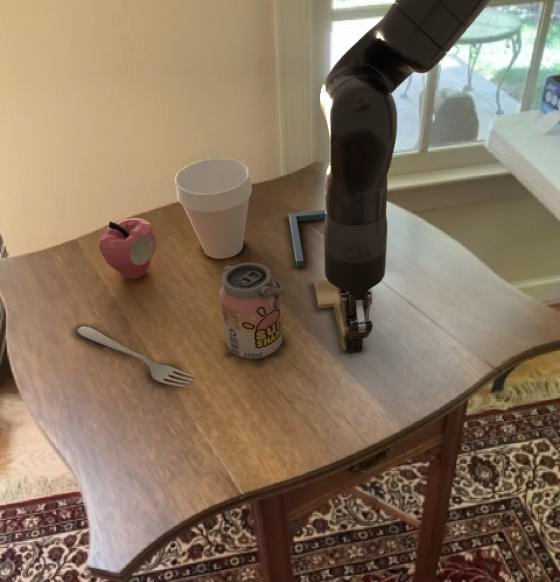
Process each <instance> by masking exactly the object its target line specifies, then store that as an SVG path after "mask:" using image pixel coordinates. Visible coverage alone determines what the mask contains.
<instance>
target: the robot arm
mask: <svg viewBox="0 0 560 582" xmlns="http://www.w3.org/2000/svg"><path fill="white" fill-rule="evenodd" d="M491 2H492V0H394V2H392V4H391V5H390V7H389V8H388V10H387V12H386V13H385V14H384V15H383V17H382V19H381V20H379V21H378V22H377V23H376V24H375V25H373V26H372V27H371V28H370V29H368V30H367V32H365V33H364V34H363V35H362V36H361V37H360V38H359V39H358V40H357V41H356V42H355V43H354V44H353V45H352V46H351V47H349V49H348V50H346V51H345V53H344V54H343V55H342V56H341V57H340V58H339V59H338V60H337V62H335V64H334V66H333V67H332V68H331V69H330V71H329V73H328V74H327V76H326V78H325V80H324V82H323V84H322V87H321V90H320V98H319V100H320V101H319V102H320V109H321V111H322V115H323V117H324V119H325V122H326V125H327V128H328V136H329V162H330V163H329V164H328V167H327V169H326V173H325V180H324V181H325V184H324V190H325V197H324V198H325V210H326V215H325V219H324V224H323V245H324V246H323V253H324V274H325V278H326V280H328V281H329V282H330V283H331V284H332V285H334V286H335V287H337V289H338V293H339V297H340V310H341V313H342V318H343V324H344V327H345V347H346V350H345V351H346V353H347V354H358V353H361V352H363V344H364V343H363V342H364V340H363V339H367V338H368V337H369V336H370V334H371V333H372V330H373V326H374V324H373V322H372V320H370V313H371V312H370V310H371V309H370V308H371V306H372V304H373V293H372V292H373V291H372V290H371V289H373V288H374V287H376V286H378V285H379V284H380V283H381V282H382V281H383V279H384V277H385V274H386V263H387V246H388V245H387V244H388V217H387V205H388V173H389V171H390V168H391V164H392V161H393V160H392V159H393V155H394V151H395V146H396V141H397V133H398V110H397V104H396V100H395V98H394V96H393V93H394V91H395V90H397V89H398V88H399V86H401V85H402V84H403V83H404V82H405V81H406V80H407V79H408V78H409V77H410V76H411V75H412V74H413V73H416V74H426V73H429V72H430V71H432V70H433V69H434V68H435V67H436V66H437V65H438V64H439V63H440V62H441V61H443V59H444V58H445V57H446V55H447V54H448V53H449V52H450V51H451V49H452V48H453V47H455V45H456V43H458V42H459V40H460V39H461V38H462V36H463V35H464V34H465V33H466V32H467V30H468V29H469V28H470V27H471V26H472V25H473V23H474V22H475V21H476V20H477V18H478V17H479V16H480V15H481V13H482V12H483V11H484V10H485V9H486V8H487V7H488V5H489V4H490V3H491Z"/></svg>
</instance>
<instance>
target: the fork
mask: <svg viewBox="0 0 560 582" xmlns="http://www.w3.org/2000/svg"><path fill="white" fill-rule="evenodd" d="M77 332H78V334H79V335H80V336H82V337H84V338H86V339H88V340H90V341H93V342H95V343H97V344H100V345H103V346H106V347H108V348H110V349H114V350H116V351H119V352H121V353H123V354H127V355H129V356H132V357H135V358H137V359H139V360H141V361H142V362H143V363H144V364H146V365H147V367H148V369H149V372H150V375H151V377H152V378H153V380H155V381H156V382H158V383H162V384H164V385H170V386H175V387H179V388H180V387H181V388H187V387H188V386H187V385H191V382H195V381H196V380H195V379H198V378H199V376H197V375H194V374H190V373H187V372H184V371H182V370H179V369H177V368H175V367H174V366H173V367H172V366H170V365H166V364H161V363H157V362H154V361H152V360H150V359H149V358H147V357H146V356H144V355H143V354H140V353H138V352H136V351H134V350H131V349H129V348H128V347H126V346H124V345H122V344H120V343H119V342H117V341H115V340H113V339H112V338H110V337H108V336H106V335H104V334H103V333H101V332H99V331H97V330H96V329H94V328H92V327H89V326H80V327H79V328H78V329H77ZM176 373H178V374H176ZM179 374H181V375H179ZM182 375H183V376H182ZM170 376H171V377H170ZM186 376H188V377H186ZM173 377H175V378H173ZM189 377H190V378H189ZM176 378H178V379H176ZM193 378H194V379H193ZM180 379H182V380H180ZM169 381H171V382H169ZM188 381H190V382H188ZM174 382H175V383H174ZM179 383H180V384H179ZM184 384H186V385H184Z"/></svg>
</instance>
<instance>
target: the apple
mask: <svg viewBox="0 0 560 582" xmlns="http://www.w3.org/2000/svg"><path fill="white" fill-rule="evenodd" d="M157 245H158V236H157V232H156V230H155V228H154V227H153V225H152V224H151V223H150V222H149V221H147V220H145V219H143V218H141V217H138V218H137V217H136V218H126V219H121V220H119V221H118V222H113V221H109V223H108V227H106V228H105V229H104V231H102V234H101V235H100V239H99V246H98V248H99V252H100V254H101V256H102V258H103V259H104V261H105V262H106V263H107V265H109V266H110V267H111V268H112V269H114V270H116V271H117V273H119V274H120V275H122V276H123V277H124V278H126V279H136V280H137V279H139V278H141V277H142V276H143V277H144V276H145V275H146V273H147V271H148V270H149V268H150V265H151V263H152V258H153V257H154V254H155V252H156V249H157Z"/></svg>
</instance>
